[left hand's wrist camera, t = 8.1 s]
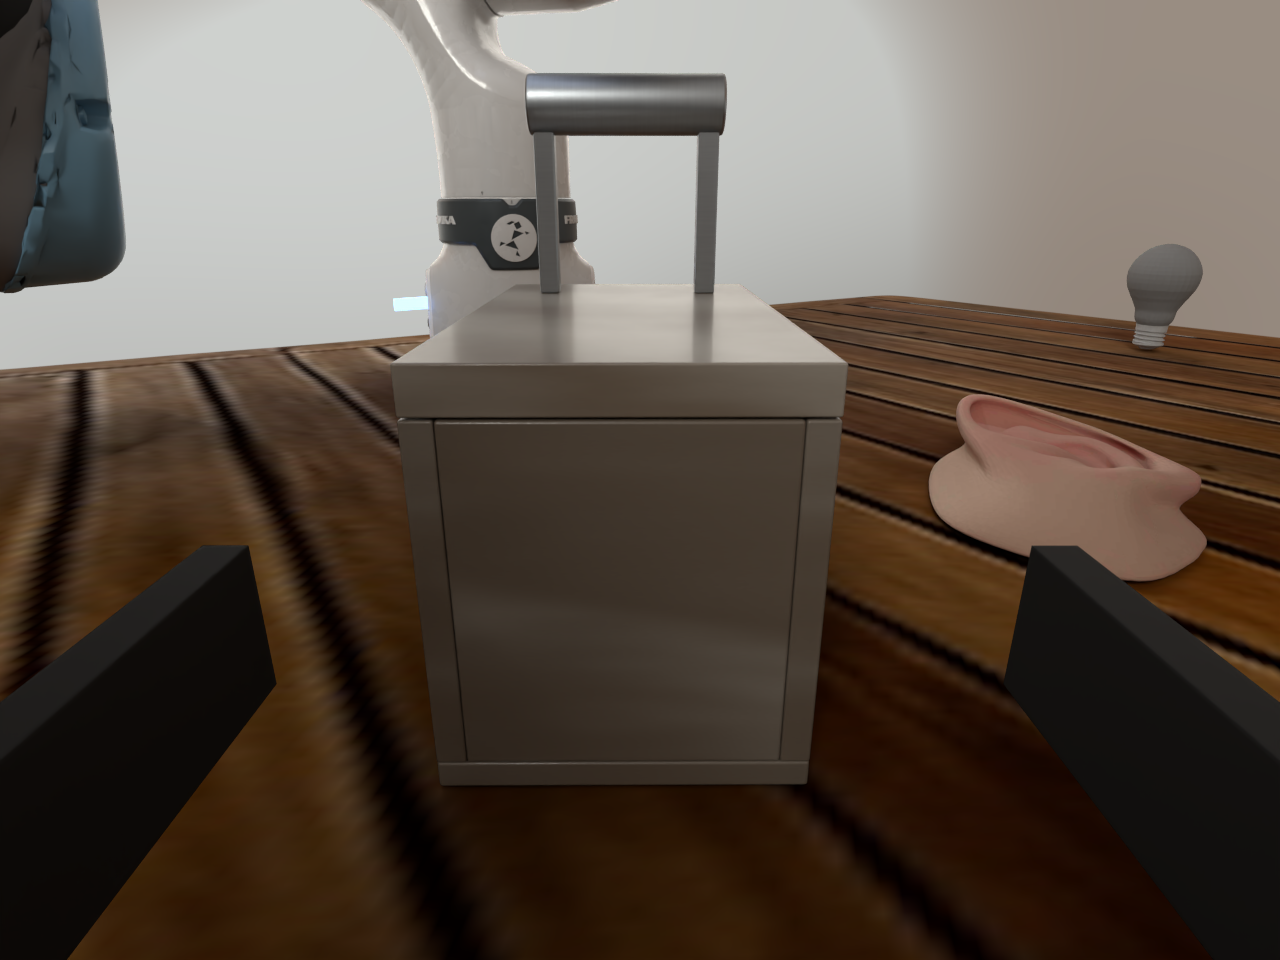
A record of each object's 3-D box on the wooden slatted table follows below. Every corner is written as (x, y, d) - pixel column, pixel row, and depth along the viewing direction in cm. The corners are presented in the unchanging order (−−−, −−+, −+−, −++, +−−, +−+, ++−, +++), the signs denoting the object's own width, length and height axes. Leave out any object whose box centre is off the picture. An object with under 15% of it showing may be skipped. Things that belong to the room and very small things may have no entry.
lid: (516, 312, 30) (503, 87, 28) (739, 312, 30) (749, 88, 28) (395, 418, 15) (338, -63, 12) (843, 418, 15) (891, -62, 12)
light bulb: (1125, 352, 72) (1150, 245, 69) (1102, 342, 78) (1124, 242, 74) (1194, 355, 71) (1223, 245, 67) (1166, 344, 76) (1191, 242, 73)
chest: (526, 531, 33) (513, 316, 30) (732, 531, 33) (742, 316, 30) (439, 787, 18) (395, 420, 15) (808, 785, 18) (843, 420, 15)
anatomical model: (1262, 500, 25) (910, 451, 30) (1230, 603, 26) (898, 539, 32) (1201, 411, 36) (950, 386, 41) (1181, 487, 37) (940, 453, 43)
